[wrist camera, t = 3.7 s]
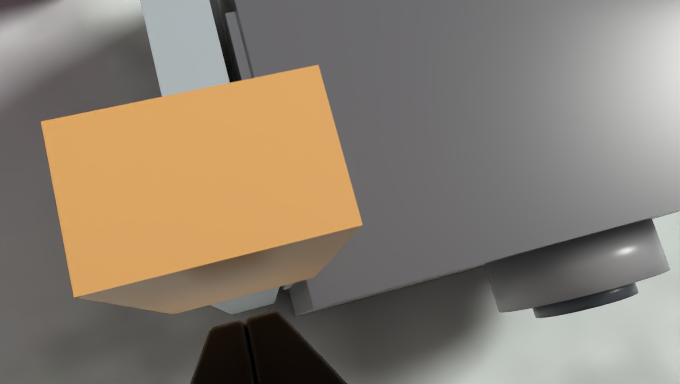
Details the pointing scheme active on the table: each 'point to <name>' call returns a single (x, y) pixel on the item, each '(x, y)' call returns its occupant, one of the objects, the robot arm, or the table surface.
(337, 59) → the block
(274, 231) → the side door
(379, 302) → the table surface
